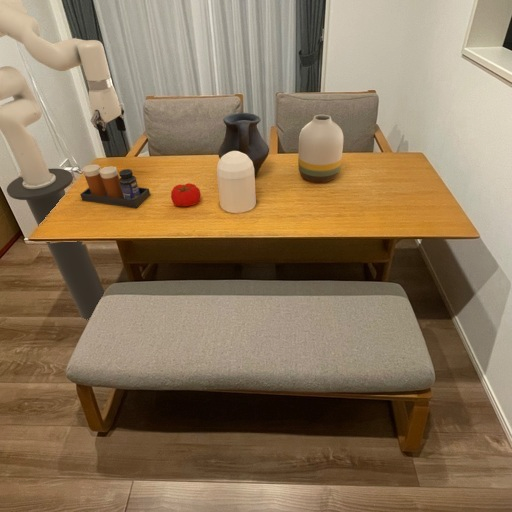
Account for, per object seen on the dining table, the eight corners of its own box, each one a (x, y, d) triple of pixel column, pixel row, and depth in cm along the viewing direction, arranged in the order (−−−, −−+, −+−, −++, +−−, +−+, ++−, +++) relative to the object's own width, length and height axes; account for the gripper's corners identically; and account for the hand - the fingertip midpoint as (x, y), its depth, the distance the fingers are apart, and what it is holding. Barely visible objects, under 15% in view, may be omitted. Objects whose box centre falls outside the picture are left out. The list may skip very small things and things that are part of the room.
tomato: (172, 198, 148) (168, 183, 144) (200, 194, 150) (198, 179, 146) (173, 211, 141) (169, 195, 137) (202, 207, 142) (200, 191, 138)
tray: (82, 200, 150) (80, 194, 148) (98, 188, 157) (96, 181, 156) (136, 208, 144) (134, 201, 142) (150, 194, 151) (148, 188, 149)
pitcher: (266, 161, 171) (264, 103, 155) (273, 184, 154) (272, 122, 138) (219, 165, 169) (213, 107, 154) (222, 189, 152) (215, 126, 137)
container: (259, 210, 139) (257, 158, 126) (222, 215, 137) (216, 163, 125) (252, 192, 149) (249, 142, 137) (218, 197, 148) (212, 147, 135)
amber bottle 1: (88, 196, 150) (78, 170, 144) (97, 189, 155) (89, 163, 148) (101, 198, 149) (92, 172, 142) (110, 190, 153) (102, 165, 147)
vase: (317, 163, 167) (320, 106, 152) (348, 176, 156) (355, 116, 142) (289, 176, 158) (289, 117, 143) (320, 190, 148) (324, 129, 133)
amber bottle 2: (104, 198, 149) (95, 172, 142) (113, 191, 153) (105, 165, 146) (118, 200, 147) (110, 174, 140) (127, 192, 152) (119, 167, 145)
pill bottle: (138, 202, 146) (131, 175, 139) (122, 202, 146) (114, 175, 139) (142, 193, 150) (135, 167, 144) (127, 194, 151) (119, 168, 144)
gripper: (106, 76, 132) (119, 126, 143) (73, 91, 120) (89, 144, 130) (125, 77, 130) (136, 127, 141) (93, 92, 118) (108, 146, 128)
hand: (114, 135), depth 136 cm, fingers open, 9 cm apart
